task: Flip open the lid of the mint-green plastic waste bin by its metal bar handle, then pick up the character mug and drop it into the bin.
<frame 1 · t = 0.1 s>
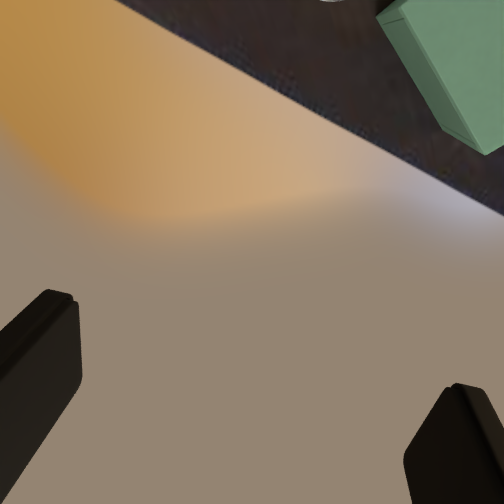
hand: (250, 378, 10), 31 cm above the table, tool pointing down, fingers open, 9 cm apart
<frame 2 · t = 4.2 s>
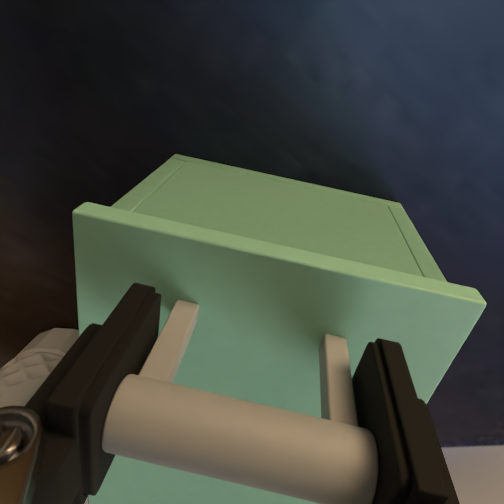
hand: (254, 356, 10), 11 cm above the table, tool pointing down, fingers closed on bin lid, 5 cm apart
bin lid: (218, 501, 13), point 12 cm above the table, hinge at 0.0°, touching gripper
bin: (256, 307, 23), on the table
white cup: (78, 360, 28), on the table
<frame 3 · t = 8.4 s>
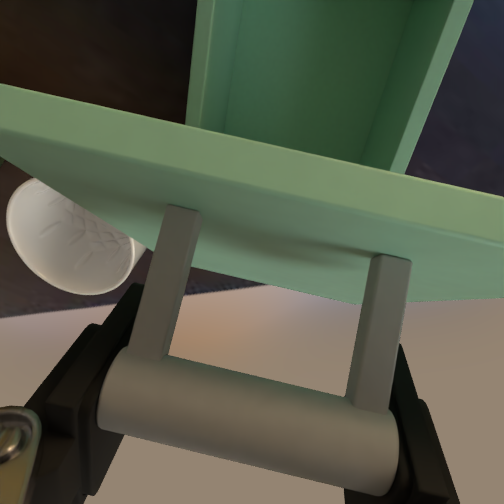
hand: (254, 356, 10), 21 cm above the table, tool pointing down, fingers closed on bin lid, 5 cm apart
bin lid: (258, 316, 14), point 18 cm above the table, hinge at 52.4°, touching gripper
bin: (299, 111, 27), on the table
white cup: (136, 185, 31), on the table
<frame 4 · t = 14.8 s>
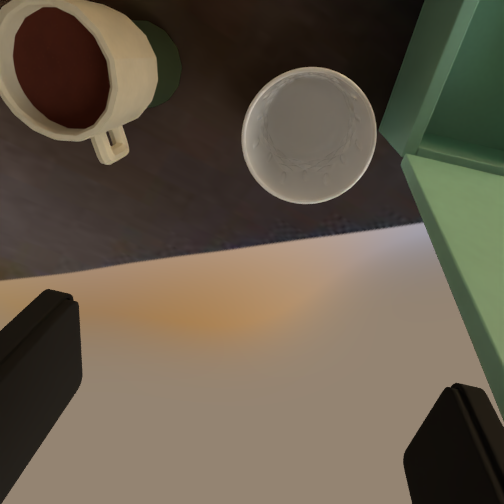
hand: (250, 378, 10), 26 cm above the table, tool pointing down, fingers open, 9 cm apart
character mug: (147, 65, 31), on the table
bin: (500, 31, 27), on the table
white cup: (307, 115, 31), on the table
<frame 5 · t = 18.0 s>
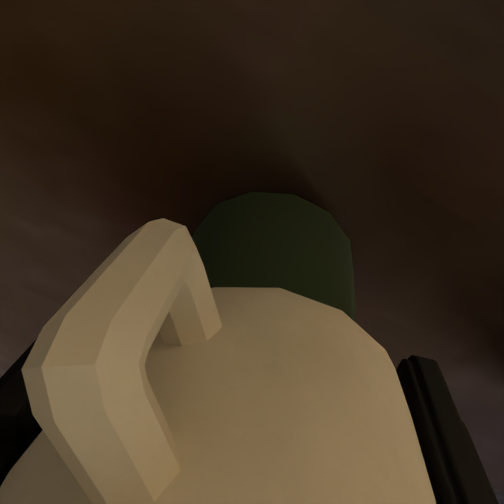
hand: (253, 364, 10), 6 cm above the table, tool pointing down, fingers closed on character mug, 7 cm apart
character mug: (270, 257, 15), on the table, touching gripper
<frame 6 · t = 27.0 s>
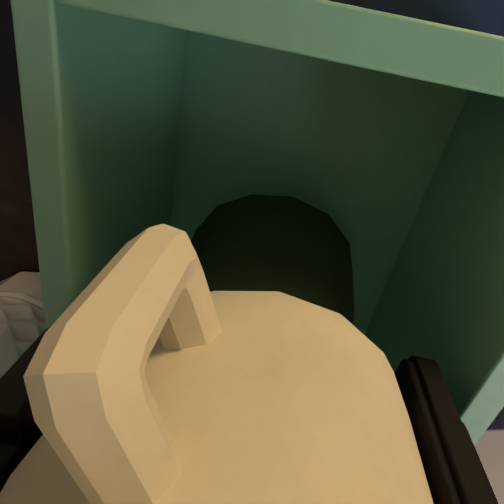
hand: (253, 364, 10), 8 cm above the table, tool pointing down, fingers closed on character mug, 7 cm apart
character mug: (270, 258, 15), point 2 cm above the table, touching gripper
bin: (281, 236, 18), on the table
white cup: (54, 317, 22), on the table
when the fingers open (9 cm above the table, at t = 32.7 s): character mug drops 2 cm, resting on bin.
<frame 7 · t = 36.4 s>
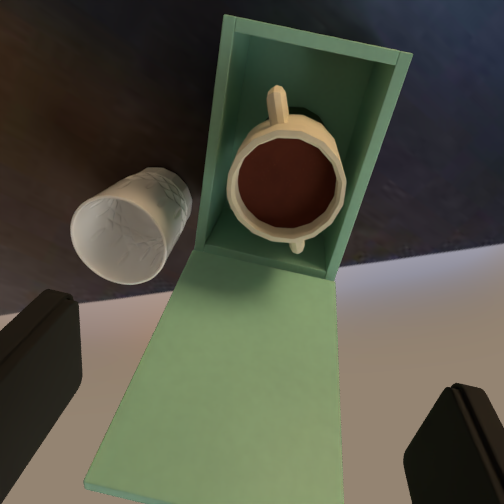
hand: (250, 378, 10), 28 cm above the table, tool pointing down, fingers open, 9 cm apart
bin lid: (239, 378, 25), point 18 cm above the table, hinge at 97.8°
character mug: (292, 141, 34), point 1 cm above the table, touching bin
bin: (291, 140, 34), on the table
white cup: (161, 198, 39), on the table
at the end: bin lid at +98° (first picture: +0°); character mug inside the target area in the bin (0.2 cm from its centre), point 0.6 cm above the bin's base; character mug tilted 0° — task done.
